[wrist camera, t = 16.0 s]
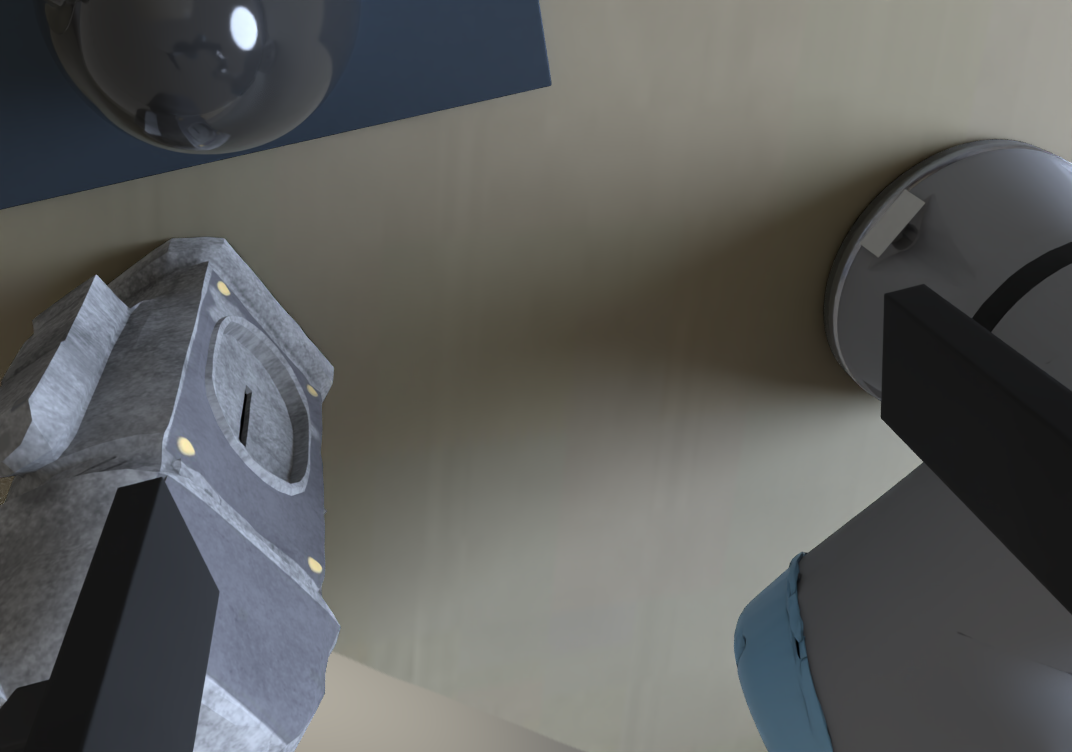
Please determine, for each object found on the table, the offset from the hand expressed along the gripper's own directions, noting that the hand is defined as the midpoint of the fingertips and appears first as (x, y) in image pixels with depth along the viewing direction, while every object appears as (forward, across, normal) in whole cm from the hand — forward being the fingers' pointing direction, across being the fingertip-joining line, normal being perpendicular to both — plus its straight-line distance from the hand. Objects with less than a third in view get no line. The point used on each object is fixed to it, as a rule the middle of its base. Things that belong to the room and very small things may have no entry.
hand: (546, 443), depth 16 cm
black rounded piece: (+26, -7, +7) cm, 28 cm away
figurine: (+27, -13, -9) cm, 31 cm away
